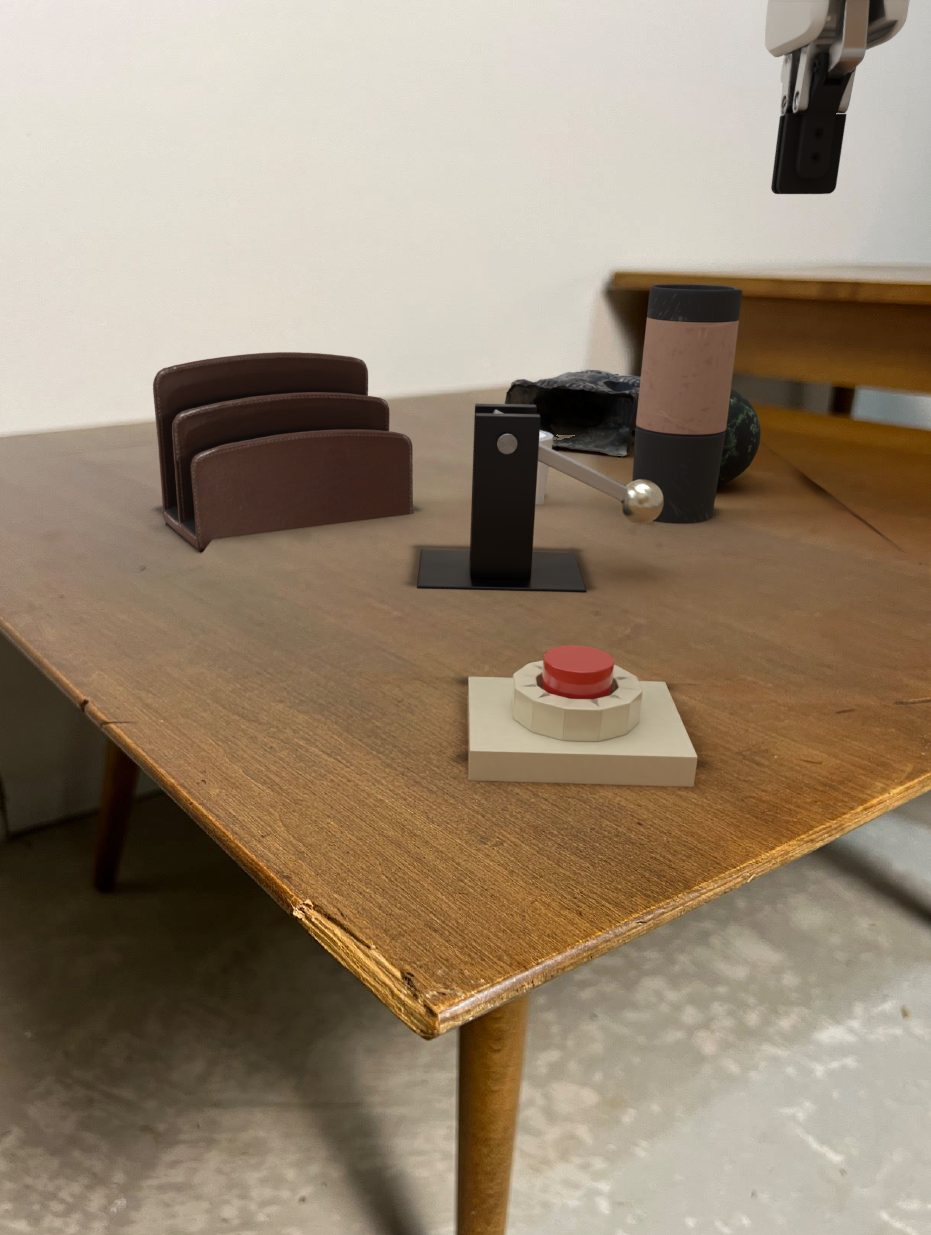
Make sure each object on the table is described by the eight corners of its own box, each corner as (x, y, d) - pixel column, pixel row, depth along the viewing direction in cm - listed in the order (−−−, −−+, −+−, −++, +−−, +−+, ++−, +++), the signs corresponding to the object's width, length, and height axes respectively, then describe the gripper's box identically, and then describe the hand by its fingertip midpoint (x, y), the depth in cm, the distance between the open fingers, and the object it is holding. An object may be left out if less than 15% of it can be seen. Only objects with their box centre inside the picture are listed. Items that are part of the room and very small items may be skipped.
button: (606, 676, 57) (609, 645, 56) (616, 704, 53) (619, 672, 53) (538, 674, 57) (541, 643, 56) (543, 703, 54) (546, 670, 53)
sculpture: (495, 441, 127) (573, 415, 152) (625, 464, 121) (684, 433, 146) (503, 373, 124) (581, 358, 149) (637, 393, 118) (695, 373, 143)
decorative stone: (712, 471, 116) (724, 376, 112) (774, 492, 107) (789, 390, 103) (633, 478, 112) (643, 380, 108) (691, 501, 104) (703, 395, 100)
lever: (645, 524, 80) (667, 486, 78) (652, 536, 77) (675, 497, 75) (477, 443, 78) (497, 402, 76) (478, 452, 75) (498, 410, 73)
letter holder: (162, 523, 94) (148, 357, 88) (365, 499, 103) (364, 346, 97) (197, 553, 86) (184, 372, 80) (414, 524, 95) (416, 359, 89)
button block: (662, 708, 60) (668, 651, 59) (693, 787, 52) (702, 723, 51) (467, 703, 61) (469, 646, 59) (468, 781, 52) (470, 716, 51)
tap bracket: (573, 566, 84) (585, 400, 79) (585, 605, 76) (600, 423, 71) (420, 563, 84) (423, 397, 79) (416, 601, 76) (419, 419, 71)
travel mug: (609, 521, 97) (629, 285, 88) (662, 508, 101) (686, 282, 93) (678, 540, 91) (706, 291, 83) (731, 525, 96) (763, 288, 88)
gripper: (1002, -270, 47) (921, 192, 54) (876, -162, 60) (825, 195, 68) (830, -269, 47) (773, 191, 54) (743, -161, 61) (707, 195, 68)
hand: (802, 192), depth 61 cm, fingers closed
